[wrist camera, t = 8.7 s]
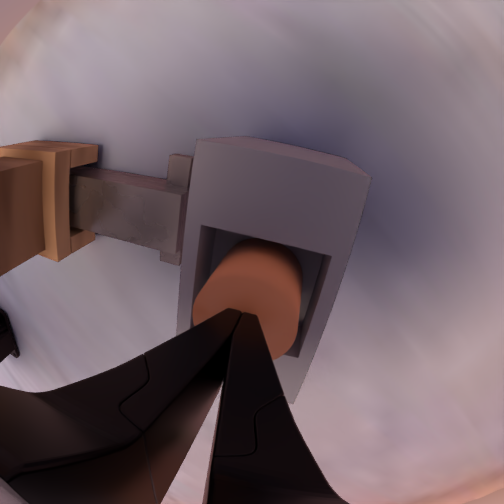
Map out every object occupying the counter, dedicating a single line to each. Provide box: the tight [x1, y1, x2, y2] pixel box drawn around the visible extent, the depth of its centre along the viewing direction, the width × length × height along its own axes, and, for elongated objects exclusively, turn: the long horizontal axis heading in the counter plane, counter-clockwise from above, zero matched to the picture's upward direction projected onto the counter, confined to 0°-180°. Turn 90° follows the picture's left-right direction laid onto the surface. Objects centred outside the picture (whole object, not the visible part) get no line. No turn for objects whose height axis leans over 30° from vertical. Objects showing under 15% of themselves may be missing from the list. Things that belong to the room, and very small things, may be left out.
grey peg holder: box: [176, 136, 372, 404], centre depth 13 cm, size 5×9×7 cm, turn 170°
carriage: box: [0, 140, 98, 276], centre depth 13 cm, size 6×6×8 cm
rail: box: [69, 154, 194, 266], centre depth 17 cm, size 22×6×2 cm, turn 80°
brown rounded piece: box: [192, 238, 303, 360], centre depth 10 cm, size 3×3×3 cm
